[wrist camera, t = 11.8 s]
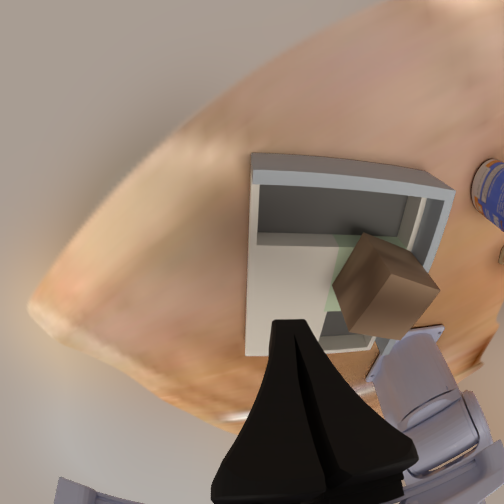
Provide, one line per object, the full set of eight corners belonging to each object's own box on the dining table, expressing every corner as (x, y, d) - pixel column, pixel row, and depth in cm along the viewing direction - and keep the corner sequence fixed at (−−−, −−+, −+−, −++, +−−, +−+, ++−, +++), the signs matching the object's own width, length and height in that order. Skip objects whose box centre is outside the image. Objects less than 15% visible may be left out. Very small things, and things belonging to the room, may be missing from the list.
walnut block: (379, 297, 22) (400, 340, 18) (331, 285, 21) (348, 331, 17) (410, 251, 20) (440, 290, 16) (363, 232, 19) (391, 273, 15)
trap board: (371, 334, 28) (382, 364, 24) (245, 339, 27) (245, 373, 24) (425, 171, 18) (455, 190, 15) (251, 152, 18) (253, 169, 14)
